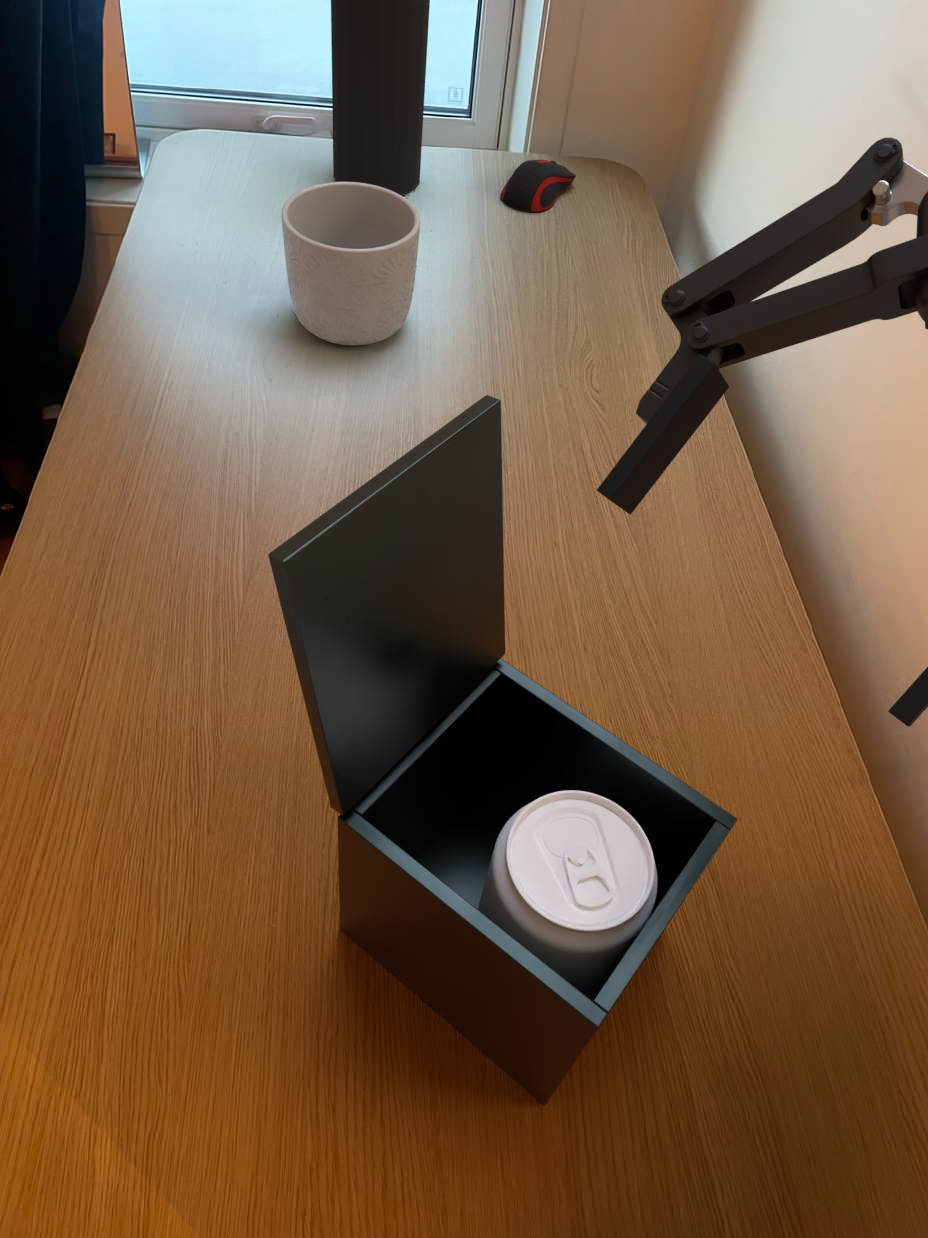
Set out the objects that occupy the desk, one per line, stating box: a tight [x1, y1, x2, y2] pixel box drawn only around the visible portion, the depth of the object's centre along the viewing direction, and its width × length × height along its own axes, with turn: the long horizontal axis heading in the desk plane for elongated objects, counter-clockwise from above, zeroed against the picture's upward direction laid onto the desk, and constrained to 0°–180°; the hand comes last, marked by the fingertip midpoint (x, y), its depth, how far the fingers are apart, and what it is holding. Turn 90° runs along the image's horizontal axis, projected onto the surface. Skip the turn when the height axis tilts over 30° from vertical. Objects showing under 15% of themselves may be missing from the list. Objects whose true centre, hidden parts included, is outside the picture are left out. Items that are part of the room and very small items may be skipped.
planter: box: [280, 181, 421, 346], centre depth 88 cm, size 12×12×11 cm
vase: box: [330, 0, 431, 196], centre depth 100 cm, size 10×10×30 cm
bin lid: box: [267, 394, 506, 815], centre depth 41 cm, size 15×13×1 cm
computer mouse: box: [499, 159, 577, 213], centre depth 111 cm, size 6×11×4 cm, turn 149°
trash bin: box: [337, 658, 738, 1107], centre depth 50 cm, size 15×13×14 cm
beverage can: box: [478, 790, 658, 1001], centre depth 49 cm, size 8×8×12 cm
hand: (744, 603), depth 36 cm, fingers open, 13 cm apart
